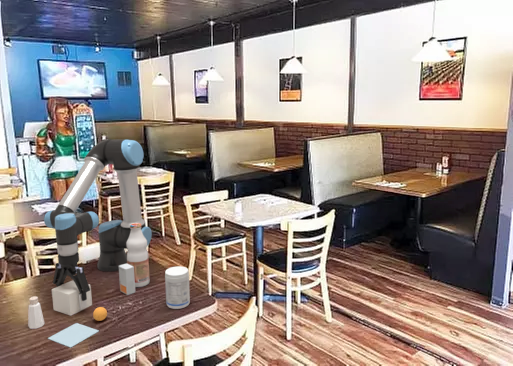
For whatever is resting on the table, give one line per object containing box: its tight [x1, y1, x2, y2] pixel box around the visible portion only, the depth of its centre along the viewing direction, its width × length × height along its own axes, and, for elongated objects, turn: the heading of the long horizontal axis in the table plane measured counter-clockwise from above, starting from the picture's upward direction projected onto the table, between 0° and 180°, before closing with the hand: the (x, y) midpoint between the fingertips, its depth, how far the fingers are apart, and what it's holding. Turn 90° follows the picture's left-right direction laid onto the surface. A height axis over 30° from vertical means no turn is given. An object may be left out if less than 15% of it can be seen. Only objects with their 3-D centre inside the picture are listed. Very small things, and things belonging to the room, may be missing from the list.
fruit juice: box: [126, 223, 151, 288], centre depth 191 cm, size 9×9×28 cm
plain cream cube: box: [51, 279, 93, 317], centre depth 170 cm, size 10×10×9 cm
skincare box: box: [118, 263, 136, 296], centre depth 184 cm, size 6×4×12 cm
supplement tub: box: [164, 265, 191, 310], centre depth 172 cm, size 10×10×15 cm
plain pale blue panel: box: [47, 322, 100, 349], centre depth 151 cm, size 12×12×1 cm
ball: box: [92, 306, 108, 322], centre depth 160 cm, size 5×5×5 cm
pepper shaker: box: [27, 295, 45, 330], centre depth 156 cm, size 5×5×11 cm
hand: (72, 304), depth 171 cm, fingers open, 12 cm apart
